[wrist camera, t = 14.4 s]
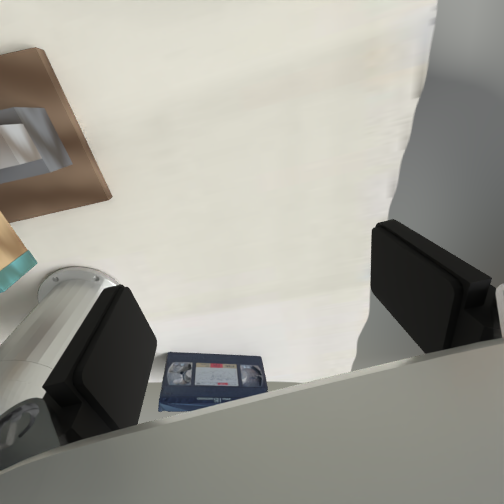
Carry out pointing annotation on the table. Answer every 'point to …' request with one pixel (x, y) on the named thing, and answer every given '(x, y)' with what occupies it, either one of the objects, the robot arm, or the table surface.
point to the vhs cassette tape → (209, 380)
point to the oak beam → (12, 256)
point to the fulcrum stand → (41, 143)
